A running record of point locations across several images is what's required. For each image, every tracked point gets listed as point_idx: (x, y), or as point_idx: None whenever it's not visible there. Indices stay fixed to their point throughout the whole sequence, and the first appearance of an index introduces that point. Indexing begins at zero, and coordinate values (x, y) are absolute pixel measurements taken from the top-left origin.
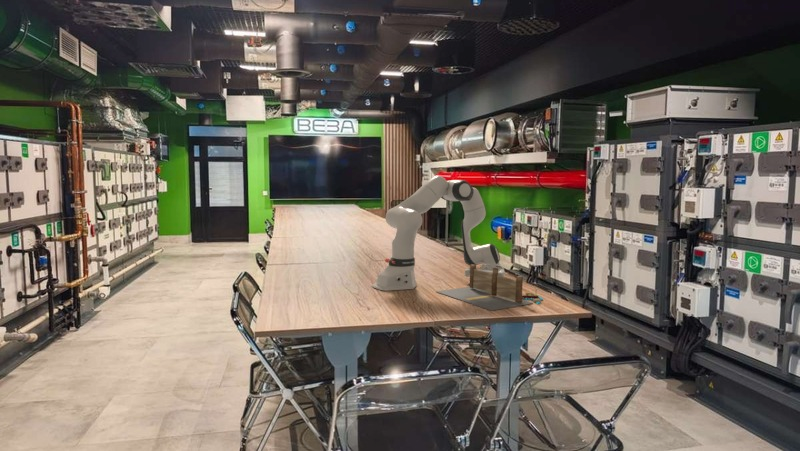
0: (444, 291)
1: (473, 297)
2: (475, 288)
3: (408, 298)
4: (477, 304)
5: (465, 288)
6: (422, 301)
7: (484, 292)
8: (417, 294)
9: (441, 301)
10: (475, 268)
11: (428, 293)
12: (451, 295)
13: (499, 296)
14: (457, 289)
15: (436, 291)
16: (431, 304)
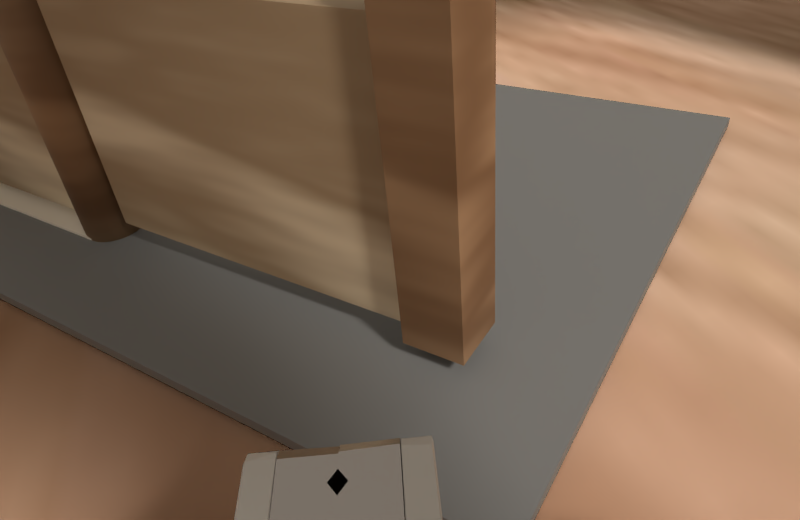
0: (659, 141)
1: None
2: (414, 381)
3: (718, 7)
4: None
5: (551, 316)
6: (595, 9)
7: (238, 265)
8: (773, 54)
9: (497, 36)
10: (373, 2)
11: (737, 89)
12: (510, 97)
13: (67, 208)
14: (607, 238)
15: (718, 116)
16: (511, 4)
